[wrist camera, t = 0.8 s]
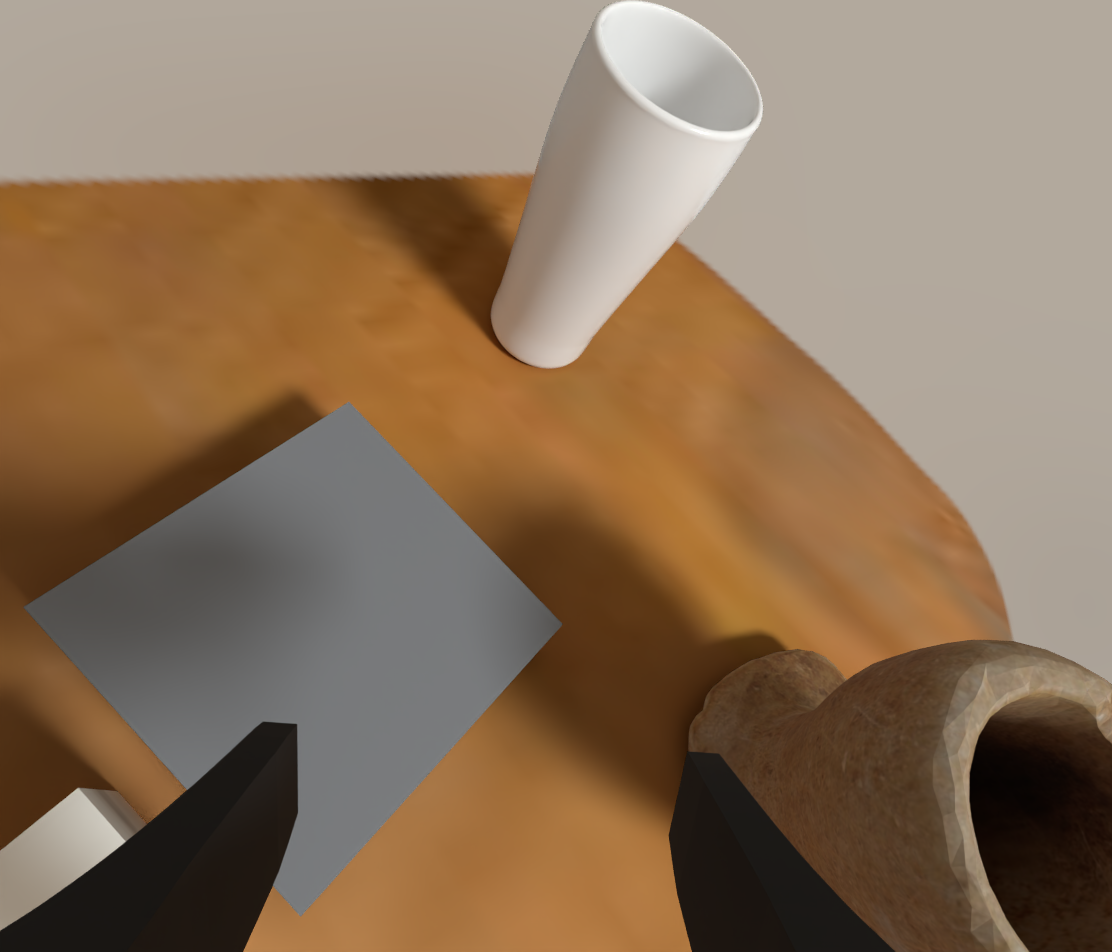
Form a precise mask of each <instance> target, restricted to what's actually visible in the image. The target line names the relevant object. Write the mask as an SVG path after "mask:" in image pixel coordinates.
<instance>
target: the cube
mask: <svg viewBox="0 0 1112 952" xmlns="http://www.w3.org/2000/svg"><path fill="white" fill-rule="evenodd" d="M146 825H147V824H146V823H145V822H144V820H143V819H142V818H141V817H140V816H139V815H138V814H137V813H136V811H135V810H134V809H133V808H132V807H131V806H130V805H129V804H128V802H127V801H126V800H125V799H124V798H123V797H122V796H121V795H120V793H119V792H118V791H110V790H98V789H87V788H77V789H76V790H75V791H74V792H72V793H71V794H70V795H69V796H67V797H66V798H65V799H64V800H62V801H61V802H60V803H59V804H57V805H56V806H55V807H54V808H53V809H51V810H50V811H49V812H48V813H46V814H45V815H44V816H43V817H41V818H40V819H39V820H38V821H36V822H35V823H34V824H33V825H31V826H30V827H29V828H28V829H27V830H25V831H24V832H23V833H22V834H20V835H19V836H18V837H17V838H15V839H14V840H13V841H12V842H10V843H9V844H8V845H7V846H5V847H4V848H3V849H2V850H0V930H2V929H3V928H5V927H7V926H8V925H10V924H11V923H13V922H14V921H16V920H18V919H19V918H21V917H22V916H24V915H26V914H27V913H29V912H30V911H32V910H33V909H35V908H36V907H38V906H39V905H41V904H42V903H44V902H45V901H46V900H48V899H49V898H51V897H52V896H54V895H55V894H56V893H58V892H59V891H61V890H62V889H63V888H65V887H66V886H68V885H69V884H71V883H72V882H73V881H75V880H76V879H77V878H79V877H80V876H82V875H83V874H84V873H86V872H87V871H88V870H90V869H91V868H92V867H94V866H95V865H96V864H98V863H99V862H100V861H102V860H103V859H104V858H106V857H107V856H108V855H109V854H111V853H112V852H113V851H115V850H116V849H117V848H118V847H120V846H121V845H122V844H123V843H125V842H126V841H127V840H128V839H129V838H131V837H132V836H133V835H134V834H136V833H137V832H138V831H139V830H141V829H142V828H143V827H144V826H146Z"/></svg>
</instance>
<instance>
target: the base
mask: <svg viewBox="0 0 1112 952" xmlns="http://www.w3.org/2000/svg"><path fill="white" fill-rule="evenodd" d="M24 609H25V610H26V611H27V612H28V613H29V614H30V615H31V616H32V617H33V619H34V620H35V621H36V622H37V623H38V624H39V625H40V626H41V628H42V629H43V630H44V631H45V632H46V633H47V634H48V635H49V636H50V638H51V639H52V640H53V641H54V642H55V643H56V644H57V645H58V646H59V648H60V649H61V650H62V651H63V652H64V653H65V654H66V655H67V657H68V658H69V659H70V660H71V661H72V662H73V663H74V664H75V665H76V667H77V668H78V669H79V670H80V671H81V672H82V673H83V674H84V675H85V677H86V678H87V679H88V680H89V681H90V682H91V683H92V684H93V686H94V687H95V688H96V689H97V690H98V691H99V692H100V693H101V694H102V696H103V697H104V698H105V699H106V700H107V701H108V702H109V703H110V704H111V706H112V707H113V708H114V709H115V710H116V711H117V712H118V713H119V715H120V716H121V717H122V718H123V719H124V720H125V721H126V722H127V723H128V725H129V726H130V727H131V728H132V729H133V730H134V731H135V732H136V733H137V735H138V736H139V737H140V738H141V739H142V740H143V741H144V742H145V744H146V745H147V746H148V747H149V748H150V749H151V750H152V751H153V752H154V754H155V755H156V756H157V757H158V758H159V759H160V760H161V761H162V762H163V764H164V765H165V766H166V767H167V768H168V769H169V770H170V771H171V773H172V774H173V775H174V776H175V777H176V778H177V779H178V780H179V781H180V783H181V784H182V785H183V786H184V787H185V788H186V789H187V790H188V789H189V788H190V787H191V786H192V785H193V784H195V783H196V782H197V781H198V780H199V779H200V778H201V777H203V776H204V775H205V774H206V773H207V772H208V771H209V770H210V769H211V768H212V767H213V766H215V765H216V764H217V763H218V762H219V761H220V760H221V759H222V758H223V757H224V756H225V755H226V754H228V753H229V752H230V751H231V750H232V749H233V748H234V747H235V746H236V745H237V744H238V743H239V742H240V741H241V740H242V739H244V738H245V737H246V736H247V735H248V734H249V733H250V732H251V731H252V730H253V729H254V728H255V727H256V726H258V725H259V724H260V723H262V722H278V723H292V724H297V743H298V815H297V818H296V821H295V824H294V827H293V831H292V834H291V837H290V840H289V843H288V846H287V849H286V852H285V855H284V858H283V861H282V864H281V867H280V870H279V873H278V875H277V877H276V879H275V882H274V884H273V886H274V887H275V889H276V890H277V891H278V892H279V893H280V894H281V895H282V896H283V897H284V899H285V900H286V901H287V902H288V903H289V904H290V905H291V906H292V907H293V909H294V910H295V911H296V912H297V913H298V914H299V915H300V916H302V914H303V913H304V912H305V911H306V910H307V909H308V908H309V907H310V906H311V904H312V903H313V902H314V901H315V900H316V899H317V898H318V897H319V896H320V894H321V893H322V892H323V891H324V890H325V889H326V888H327V887H328V885H329V884H330V883H331V882H332V881H333V880H334V879H335V878H336V877H337V875H338V874H339V873H340V872H341V871H342V870H343V869H344V868H345V867H346V865H347V864H348V863H349V862H350V861H351V860H352V859H353V858H354V857H355V855H356V854H357V853H358V852H359V851H360V850H361V849H362V848H363V846H364V845H365V844H366V843H367V842H368V841H369V840H370V839H371V838H372V836H373V835H374V834H375V833H376V832H377V831H378V830H379V829H380V828H381V826H382V825H383V824H384V823H385V822H386V821H387V820H388V819H389V818H390V816H391V815H392V814H393V813H394V812H395V811H396V810H397V809H398V807H399V806H400V805H401V804H402V803H403V802H404V801H405V800H406V799H407V797H408V796H409V795H410V794H411V793H412V792H413V791H414V790H415V789H416V787H417V786H418V785H419V784H420V783H421V782H422V781H423V780H424V778H425V777H426V776H427V775H428V774H429V773H430V772H431V771H432V770H433V768H434V767H435V766H436V765H437V764H438V763H439V762H440V761H441V760H442V758H443V757H444V756H445V755H446V754H447V753H448V752H449V751H450V750H451V748H452V747H453V746H454V745H455V744H456V743H457V742H458V741H459V739H460V738H461V737H462V736H463V735H464V734H465V733H466V732H467V731H468V729H469V728H470V727H471V726H472V725H473V724H474V723H475V722H476V721H477V719H478V718H479V717H480V716H481V715H482V714H483V713H484V712H485V710H486V709H487V708H488V707H489V706H490V705H491V704H492V703H493V702H494V700H495V699H496V698H497V697H498V696H499V695H500V694H501V693H502V692H503V690H504V689H505V688H506V687H507V686H508V685H509V684H510V683H511V682H512V680H513V679H514V678H515V677H516V676H517V675H518V674H519V673H520V671H521V670H522V669H523V668H524V667H525V666H526V665H527V664H528V663H529V661H530V660H531V659H532V658H533V657H534V656H535V655H536V654H537V653H538V651H539V650H540V649H541V648H542V647H543V646H544V645H545V644H546V642H547V641H548V640H549V639H550V638H551V637H552V636H553V635H554V634H555V632H556V631H557V630H558V629H559V628H560V627H561V626H562V625H563V624H562V623H561V622H560V621H559V620H558V619H557V618H556V617H555V616H554V615H553V614H552V613H551V612H550V610H549V609H548V608H547V607H546V606H545V605H544V604H543V603H542V602H541V601H540V600H539V599H538V598H537V597H536V596H535V595H534V594H533V593H532V592H531V591H530V590H529V589H528V588H527V587H526V586H525V584H524V583H523V582H522V581H521V580H520V579H519V578H518V577H517V576H516V575H515V574H514V573H513V572H512V571H511V570H510V569H509V568H508V567H507V566H506V565H505V564H504V563H503V562H502V561H501V560H500V558H499V557H498V556H497V555H496V554H495V553H494V552H493V551H492V550H491V549H490V548H489V547H488V546H487V545H486V544H485V543H484V542H483V541H482V540H481V539H480V538H479V537H478V536H477V535H476V534H475V532H474V531H473V530H472V529H471V528H470V527H469V526H468V525H467V524H466V523H465V522H464V521H463V520H462V519H461V518H460V517H459V516H458V515H457V514H456V513H455V512H454V511H453V510H452V509H451V508H450V506H449V505H448V504H447V503H446V502H445V501H444V500H443V499H442V498H441V497H440V496H439V495H438V494H437V493H436V492H435V491H434V490H433V489H432V488H431V487H430V486H429V485H428V484H427V483H426V482H425V480H424V479H423V478H422V477H421V476H420V475H419V474H418V473H417V472H416V471H415V470H414V469H413V468H412V467H411V466H410V465H409V464H408V463H407V462H406V461H405V460H404V459H403V458H402V457H401V456H400V454H399V453H398V452H397V451H396V450H395V449H394V448H393V447H392V446H391V445H390V444H389V443H388V442H387V441H386V440H385V439H384V438H383V437H382V436H381V435H380V434H379V433H378V432H377V431H376V430H375V428H374V427H373V426H372V425H371V424H370V423H369V422H368V421H367V420H366V419H365V418H364V417H363V416H362V415H361V414H360V413H359V412H358V411H357V410H356V409H355V408H354V407H353V406H352V405H351V403H350V402H348V403H346V404H345V405H343V406H342V407H340V408H338V409H337V410H335V411H334V412H332V413H330V414H329V415H327V416H326V417H324V418H323V419H321V420H319V421H318V422H316V423H315V424H313V425H311V426H310V427H308V428H307V429H305V430H304V431H302V432H300V433H299V434H297V435H296V436H294V437H292V438H291V439H289V440H288V441H286V442H284V443H283V444H281V445H280V446H278V447H277V448H275V449H273V450H272V451H270V452H269V453H267V454H265V455H264V456H262V457H261V458H259V459H258V460H256V461H254V462H253V463H251V464H250V465H248V466H246V467H245V468H243V469H242V470H240V471H238V472H237V473H235V474H234V475H232V476H231V477H229V478H227V479H226V480H224V481H223V482H221V483H219V484H218V485H216V486H215V487H213V488H212V489H210V490H208V491H207V492H205V493H204V494H202V495H200V496H199V497H197V498H196V499H194V500H192V501H191V502H189V503H188V504H186V505H185V506H183V507H181V508H180V509H178V510H177V511H175V512H173V513H172V514H170V515H169V516H167V517H166V518H164V519H162V520H161V521H159V522H158V523H156V524H154V525H153V526H151V527H150V528H148V529H146V530H145V531H143V532H142V533H140V534H139V535H137V536H135V537H134V538H132V539H131V540H129V541H127V542H126V543H124V544H123V545H121V546H120V547H118V548H116V549H115V550H113V551H112V552H110V553H108V554H107V555H105V556H104V557H102V558H100V559H99V560H97V561H96V562H94V563H93V564H91V565H89V566H88V567H86V568H85V569H83V570H81V571H80V572H78V573H77V574H75V575H74V576H72V577H70V578H69V579H67V580H66V581H64V582H62V583H61V584H59V585H58V586H56V587H54V588H53V589H51V590H50V591H48V592H47V593H45V594H43V595H42V596H40V597H39V598H37V599H35V600H34V601H32V602H31V603H29V604H28V605H26V606H24Z"/></svg>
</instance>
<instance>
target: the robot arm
mask: <svg viewBox="0 0 1112 952" xmlns="http://www.w3.org/2000/svg"><path fill="white" fill-rule="evenodd" d="M297 815H298V743H297V724H292V723H278V722H262V723H260V724H259V725H258V726H256V727H255V728H254V729H253V730H252V731H251V732H250V733H249V734H248V735H247V736H246V737H245V738H244V739H242V740H241V741H240V742H239V743H238V744H237V745H236V746H235V747H234V748H233V749H232V750H231V751H230V752H229V753H228V754H226V755H225V756H224V757H223V758H222V759H221V760H220V761H219V762H218V763H217V764H216V765H215V766H213V767H212V768H211V769H210V770H209V771H208V772H207V773H206V774H205V775H204V776H203V777H201V778H200V779H199V780H198V781H197V782H196V783H195V784H193V785H192V786H191V787H190V788H189V789H188V790H187V791H185V792H184V793H183V794H182V795H181V796H180V797H179V798H178V799H176V800H175V801H174V802H173V803H172V804H171V805H170V806H168V807H167V808H166V809H165V810H164V811H163V812H161V813H160V814H159V815H158V816H157V817H155V818H154V819H153V820H152V821H151V822H149V823H148V824H147V825H146V826H144V827H143V828H142V829H141V830H139V831H138V832H137V833H136V834H134V835H133V836H132V837H131V838H129V839H128V840H127V841H126V842H125V843H123V844H122V845H121V846H120V847H118V848H117V849H116V850H115V851H113V852H112V853H111V854H109V855H108V856H107V857H106V858H104V859H103V860H102V861H100V862H99V863H98V864H96V865H95V866H94V867H92V868H91V869H90V870H88V871H87V872H86V873H84V874H83V875H82V876H80V877H79V878H77V879H76V880H75V881H73V882H72V883H71V884H69V885H68V886H66V887H65V888H63V889H62V890H61V891H59V892H58V893H56V894H55V895H54V896H52V897H51V898H49V899H48V900H46V901H45V902H44V903H42V904H41V905H39V906H38V907H36V908H35V909H33V910H32V911H30V912H29V913H27V914H26V915H24V916H22V917H21V918H19V919H18V920H16V921H14V922H13V923H11V924H10V925H8V926H7V927H5V928H3V929H2V930H0V952H243V951H244V948H245V946H246V944H247V942H248V940H249V937H250V935H251V933H252V931H253V929H254V926H255V924H256V922H257V920H258V918H259V915H260V913H261V911H262V909H263V906H264V904H265V902H266V900H267V897H268V895H269V893H270V891H271V889H272V886H273V884H274V882H275V879H276V877H277V875H278V873H279V870H280V867H281V864H282V861H283V858H284V855H285V852H286V849H287V846H288V843H289V840H290V837H291V834H292V831H293V827H294V824H295V821H296V818H297ZM669 841H670V848H671V855H672V863H673V870H674V876H675V882H676V889H677V895H678V899H679V903H680V907H681V911H682V915H683V919H684V922H685V926H686V930H687V934H688V938H689V942H690V946H691V949H692V952H896V951H895V950H893V949H892V948H891V947H890V946H889V945H888V944H887V943H886V942H885V941H884V940H883V939H882V938H881V937H880V936H879V935H878V934H877V933H876V932H875V931H873V930H872V929H871V928H870V927H869V926H868V925H867V924H866V923H865V922H864V921H863V920H862V919H861V918H860V917H859V916H858V915H857V914H856V913H855V912H854V911H853V910H852V909H851V908H850V907H849V906H848V905H847V904H846V903H845V902H844V901H843V900H842V899H841V898H840V897H839V896H838V895H837V894H836V893H835V892H834V890H833V889H832V888H831V887H830V886H829V885H828V884H827V883H826V882H825V881H824V880H823V879H822V878H821V876H820V875H819V874H818V873H817V872H816V871H815V870H814V869H813V868H812V867H811V866H810V864H809V863H808V862H807V861H806V860H805V859H804V858H803V857H802V855H801V854H800V853H799V852H798V851H797V850H796V848H795V847H794V846H793V845H792V844H791V842H790V841H789V840H788V839H787V838H786V837H785V835H784V834H783V833H782V832H781V831H780V829H779V828H778V827H777V826H776V825H775V823H774V822H773V821H772V820H771V819H770V817H769V816H768V815H767V814H766V812H765V811H764V810H763V809H762V807H761V806H760V805H759V804H758V802H757V801H756V800H755V799H754V797H753V796H752V795H751V793H750V792H749V791H748V790H747V788H746V787H745V786H744V785H743V783H742V782H741V781H740V779H739V778H738V777H737V776H736V774H735V773H734V772H733V771H732V769H731V768H730V767H729V766H728V764H727V763H726V762H725V760H724V759H723V758H722V757H721V755H720V754H718V753H704V752H690V751H687V755H686V760H685V764H684V769H683V773H682V778H681V782H680V787H679V791H678V796H677V800H676V805H675V810H674V814H673V819H672V823H671V828H670V832H669Z"/></svg>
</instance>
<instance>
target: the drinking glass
mask: <svg viewBox="0 0 1112 952" xmlns="http://www.w3.org/2000/svg"><path fill="white" fill-rule="evenodd" d="M762 114H763V103H762V98H761V94H760V91H759V88H758V86H757V84H756V82H755V80H754V78H753V76H752V74H751V73H750V71H749V70H748V69H747V67H746V66H745V64H744V63H743V62H742V61H741V59H740V58H739V57H738V56H737V55H736V54H735V53H734V52H733V51H732V49H730V48H729V47H728V46H727V45H726V44H725V43H724V42H723V41H722V40H721V39H720V38H718V37H717V36H716V35H715V34H713V33H712V32H711V31H709V30H708V29H707V28H705V27H704V26H702V25H700V24H699V23H697V22H696V21H694V20H692V19H691V18H689V17H687V16H685V15H683V14H681V13H679V12H677V11H675V10H672V9H670V8H667V7H665V6H661V5H658V4H655V3H651V2H646V1H640V0H623V1H618V2H614V3H611V4H609V5H607V6H606V7H604V8H603V9H602V10H601V11H599V13H598V14H597V15H596V17H595V19H594V21H593V23H592V26H591V28H590V30H589V33H588V35H587V37H586V39H585V41H584V43H583V45H582V48H581V50H580V52H579V54H578V56H577V58H576V60H575V63H574V65H573V67H572V69H571V72H570V74H569V76H568V79H567V81H566V83H565V86H564V88H563V91H562V93H561V96H560V98H559V101H558V104H557V106H556V109H555V112H554V115H553V117H552V120H551V122H550V125H549V129H548V132H547V134H546V137H545V141H544V144H543V147H542V150H541V154H540V157H539V161H538V164H537V167H536V170H535V174H534V177H533V180H532V184H531V187H530V190H529V194H528V197H527V200H526V204H525V207H524V210H523V214H522V217H521V220H520V224H519V227H518V230H517V234H516V237H515V240H514V243H513V247H512V250H511V253H510V256H509V259H508V263H507V266H506V269H505V272H504V275H503V278H502V281H501V284H500V286H499V289H498V291H497V293H496V295H495V298H494V300H493V303H492V307H491V323H492V327H493V330H494V333H495V335H496V337H497V339H498V340H499V342H500V343H501V344H502V346H503V347H504V348H505V349H506V350H507V351H508V352H509V353H510V354H511V355H513V356H514V357H515V358H517V359H518V360H520V361H522V362H524V363H526V364H529V365H531V366H535V367H539V368H549V369H550V368H559V367H563V366H565V365H568V364H570V363H572V362H573V361H575V360H576V359H577V358H578V357H579V356H580V355H581V354H582V353H583V351H584V350H585V349H586V347H587V346H588V344H589V343H590V341H591V340H592V338H593V337H594V335H595V334H596V333H597V332H598V331H599V329H600V328H601V327H602V326H603V325H604V323H605V322H606V321H607V320H608V319H609V318H610V316H611V315H612V314H613V313H614V312H615V311H616V309H617V308H618V307H619V306H620V305H621V303H622V302H623V301H624V300H625V299H626V298H627V297H628V295H629V294H630V293H631V292H632V291H633V290H634V288H635V287H636V286H637V285H638V284H639V283H640V281H641V280H642V279H643V278H644V277H645V276H646V275H647V273H648V272H649V271H650V270H651V269H652V268H653V267H654V265H655V264H656V263H657V262H658V261H659V260H660V258H661V257H662V256H663V255H664V254H665V253H666V252H667V250H668V249H669V248H670V247H671V246H672V245H673V244H674V242H675V241H676V240H677V239H678V238H679V236H680V235H681V234H682V233H683V232H684V231H685V229H686V228H687V227H688V226H689V224H690V223H691V222H692V221H693V220H694V218H695V217H696V216H697V215H698V214H699V212H700V211H701V210H702V208H703V207H704V206H705V204H706V203H707V202H708V200H709V199H710V198H711V196H712V195H713V194H714V192H715V191H716V190H717V188H718V187H719V185H720V184H721V182H722V181H723V180H724V178H725V177H726V175H727V174H728V172H729V171H730V169H731V168H732V166H733V165H734V163H735V162H736V160H737V159H738V157H739V156H740V154H741V153H742V151H743V149H744V148H745V146H746V145H747V143H748V141H749V140H750V138H751V137H752V135H753V134H754V132H755V131H756V130H757V128H758V126H759V124H760V122H761V119H762Z"/></svg>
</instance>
